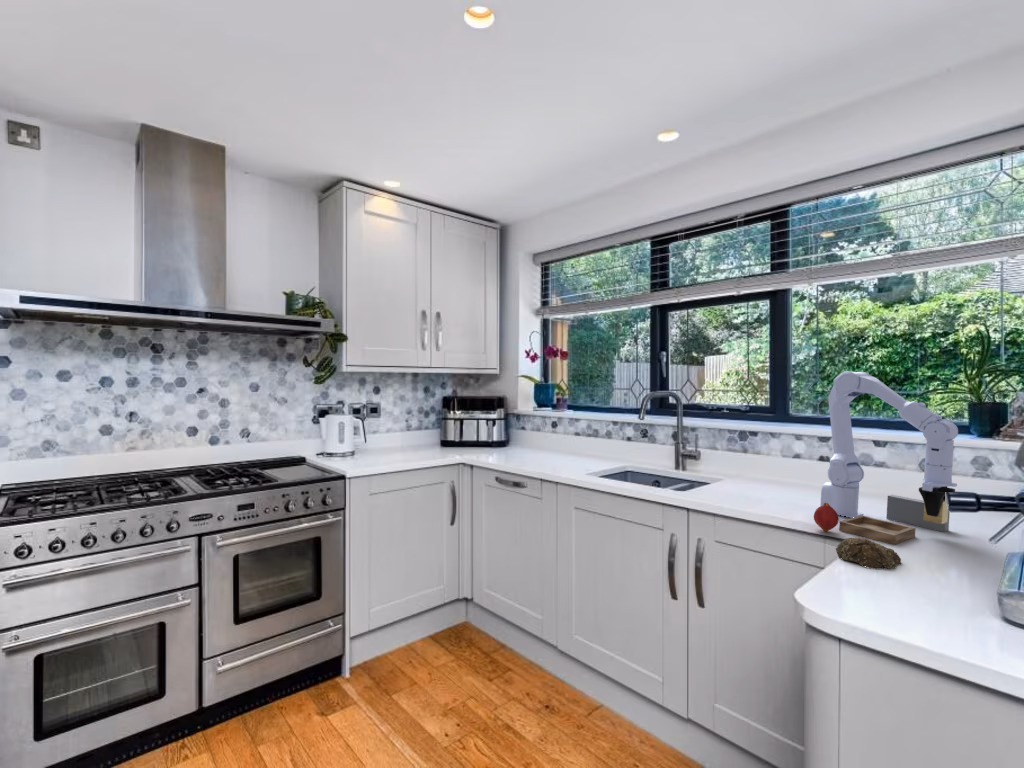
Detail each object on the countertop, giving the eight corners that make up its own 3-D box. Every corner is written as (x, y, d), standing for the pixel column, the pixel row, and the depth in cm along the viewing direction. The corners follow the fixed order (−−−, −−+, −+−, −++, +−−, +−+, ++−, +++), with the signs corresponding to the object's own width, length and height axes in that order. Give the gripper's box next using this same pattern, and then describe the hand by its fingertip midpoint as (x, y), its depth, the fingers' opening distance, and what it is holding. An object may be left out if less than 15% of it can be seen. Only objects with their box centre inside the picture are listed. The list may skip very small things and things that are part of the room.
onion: (815, 526, 144) (816, 498, 144) (839, 531, 140) (840, 502, 140) (811, 531, 139) (812, 502, 139) (836, 536, 136) (837, 506, 135)
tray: (839, 530, 141) (839, 521, 141) (860, 523, 148) (861, 515, 148) (894, 544, 130) (894, 535, 130) (914, 536, 137) (915, 527, 137)
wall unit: (886, 518, 154) (887, 495, 154) (891, 517, 156) (892, 494, 156) (944, 532, 142) (946, 507, 142) (948, 530, 144) (950, 505, 144)
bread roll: (843, 546, 128) (844, 527, 128) (904, 561, 119) (905, 540, 119) (827, 558, 119) (828, 537, 119) (892, 575, 110) (893, 553, 110)
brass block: (923, 520, 139) (924, 498, 138) (929, 518, 141) (930, 496, 141) (941, 524, 135) (943, 501, 135) (947, 522, 137) (948, 500, 137)
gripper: (947, 469, 130) (943, 522, 131) (967, 465, 138) (963, 514, 139) (913, 464, 136) (910, 515, 137) (934, 460, 144) (931, 508, 145)
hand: (935, 514), depth 138 cm, fingers closed on brass block, 4 cm apart
